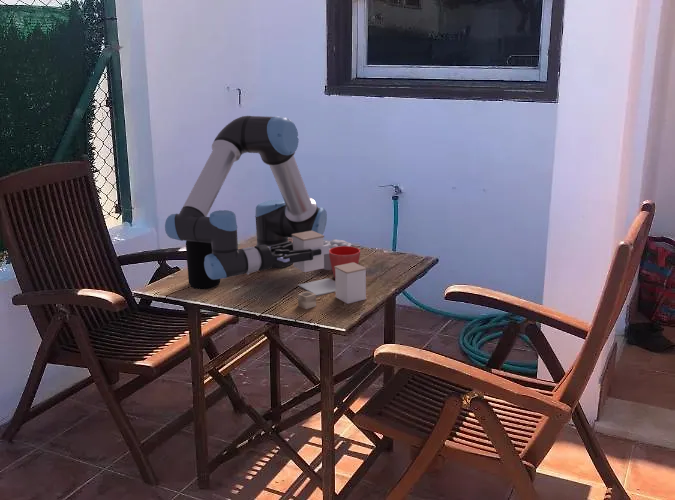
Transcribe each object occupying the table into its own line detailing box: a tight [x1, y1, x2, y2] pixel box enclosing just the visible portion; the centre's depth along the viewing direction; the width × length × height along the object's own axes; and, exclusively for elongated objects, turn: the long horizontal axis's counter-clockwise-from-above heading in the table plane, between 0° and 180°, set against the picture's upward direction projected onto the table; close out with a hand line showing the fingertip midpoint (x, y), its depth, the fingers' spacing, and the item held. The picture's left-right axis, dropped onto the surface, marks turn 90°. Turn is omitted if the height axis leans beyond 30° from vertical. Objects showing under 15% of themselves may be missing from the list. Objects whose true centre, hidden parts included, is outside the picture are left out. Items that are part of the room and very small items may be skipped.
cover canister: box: [292, 231, 325, 273], centre depth 226 cm, size 7×7×10 cm
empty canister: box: [334, 262, 367, 304], centre depth 233 cm, size 7×7×10 cm
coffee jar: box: [185, 241, 221, 290], centre depth 246 cm, size 11×11×18 cm
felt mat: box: [298, 277, 336, 297], centre depth 244 cm, size 12×12×1 cm
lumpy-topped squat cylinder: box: [322, 238, 352, 271], centre depth 267 cm, size 10×13×9 cm
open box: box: [297, 290, 317, 310], centre depth 228 cm, size 4×4×4 cm
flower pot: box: [329, 246, 361, 279], centre depth 253 cm, size 11×11×10 cm
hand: (321, 246), depth 228 cm, fingers closed on cover canister, 7 cm apart
